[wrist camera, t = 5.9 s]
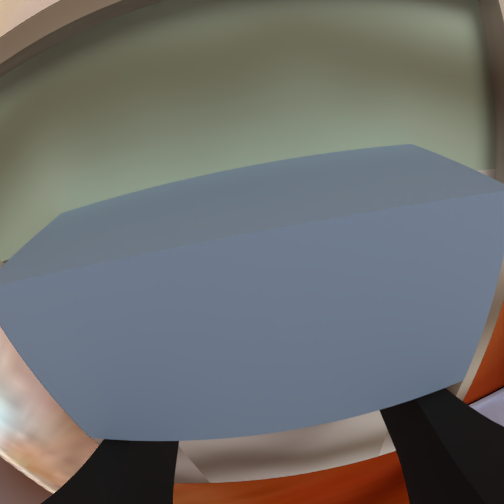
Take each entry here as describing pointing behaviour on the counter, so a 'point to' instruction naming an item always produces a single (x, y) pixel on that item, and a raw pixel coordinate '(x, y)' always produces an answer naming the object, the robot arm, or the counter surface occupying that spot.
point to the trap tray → (242, 130)
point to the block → (260, 295)
